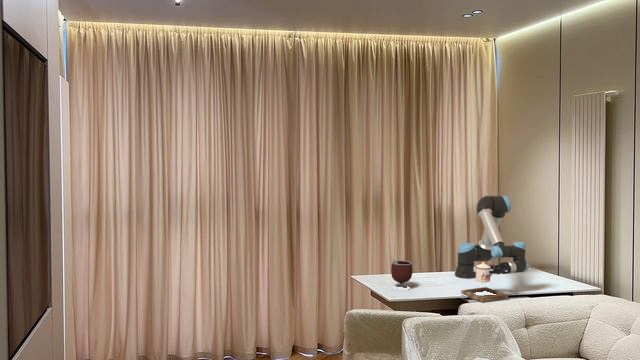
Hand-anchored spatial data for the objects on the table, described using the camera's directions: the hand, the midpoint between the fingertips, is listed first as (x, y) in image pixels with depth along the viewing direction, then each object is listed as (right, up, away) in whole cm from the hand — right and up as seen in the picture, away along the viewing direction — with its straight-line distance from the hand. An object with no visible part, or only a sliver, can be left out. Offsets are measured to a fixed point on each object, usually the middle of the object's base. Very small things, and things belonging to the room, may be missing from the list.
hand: (479, 270), depth 373 cm
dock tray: (+4, -17, +3) cm, 18 cm away
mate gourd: (-46, -15, +24) cm, 54 cm away
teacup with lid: (+4, -7, +2) cm, 8 cm away
